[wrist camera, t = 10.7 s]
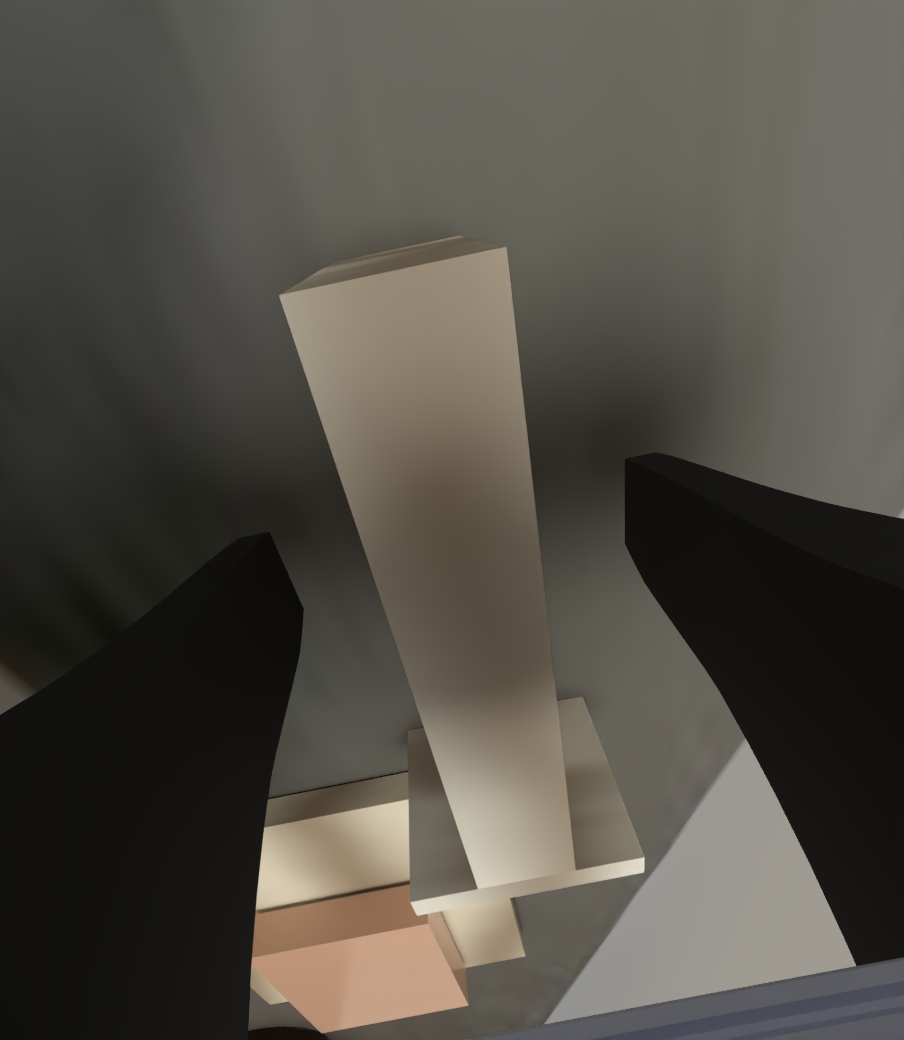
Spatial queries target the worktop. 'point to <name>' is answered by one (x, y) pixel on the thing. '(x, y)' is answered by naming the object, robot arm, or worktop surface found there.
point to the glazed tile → (360, 959)
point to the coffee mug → (285, 1034)
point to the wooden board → (361, 864)
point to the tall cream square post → (459, 569)
